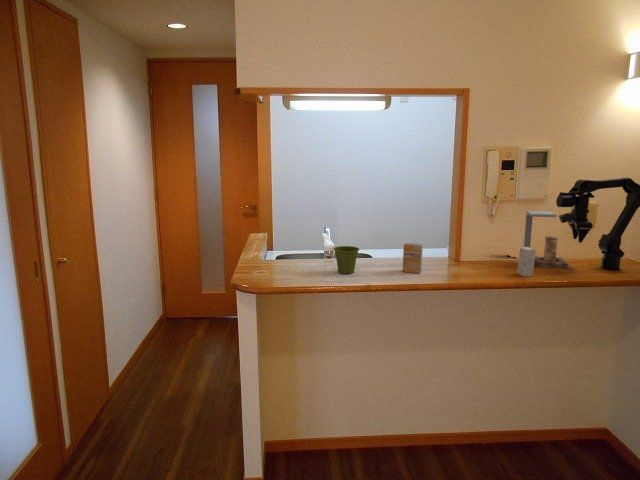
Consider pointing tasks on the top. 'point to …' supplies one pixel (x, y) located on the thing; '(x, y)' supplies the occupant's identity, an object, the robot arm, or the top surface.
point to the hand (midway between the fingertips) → (577, 240)
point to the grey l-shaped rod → (529, 223)
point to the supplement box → (412, 258)
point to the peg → (550, 249)
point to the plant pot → (346, 258)
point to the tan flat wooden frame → (551, 263)
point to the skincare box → (526, 261)
